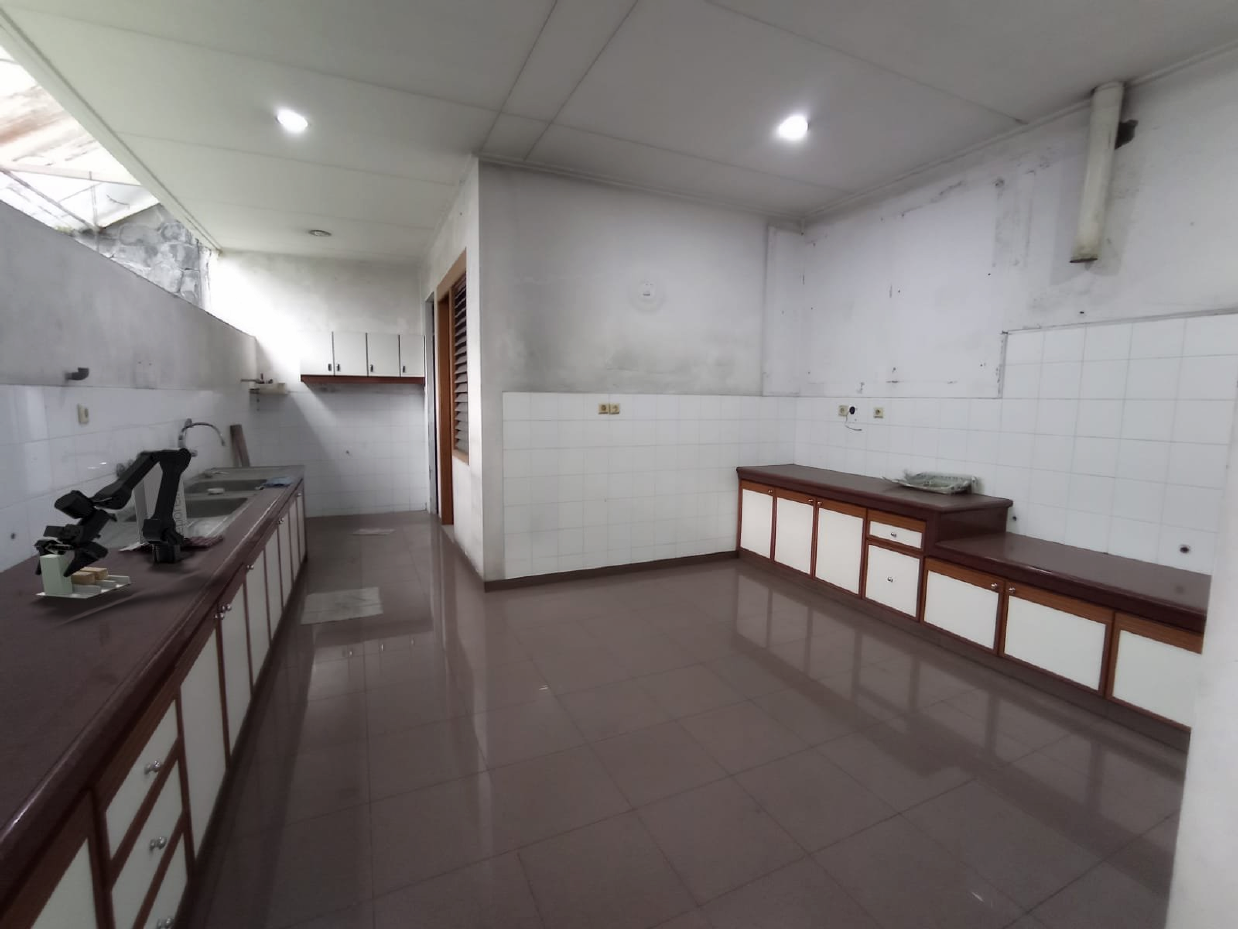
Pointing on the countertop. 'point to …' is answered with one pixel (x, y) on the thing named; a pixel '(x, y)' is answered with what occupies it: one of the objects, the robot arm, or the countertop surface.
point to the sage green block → (55, 575)
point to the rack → (95, 587)
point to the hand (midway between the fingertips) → (50, 575)
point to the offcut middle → (83, 578)
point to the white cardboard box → (147, 501)
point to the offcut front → (97, 572)
